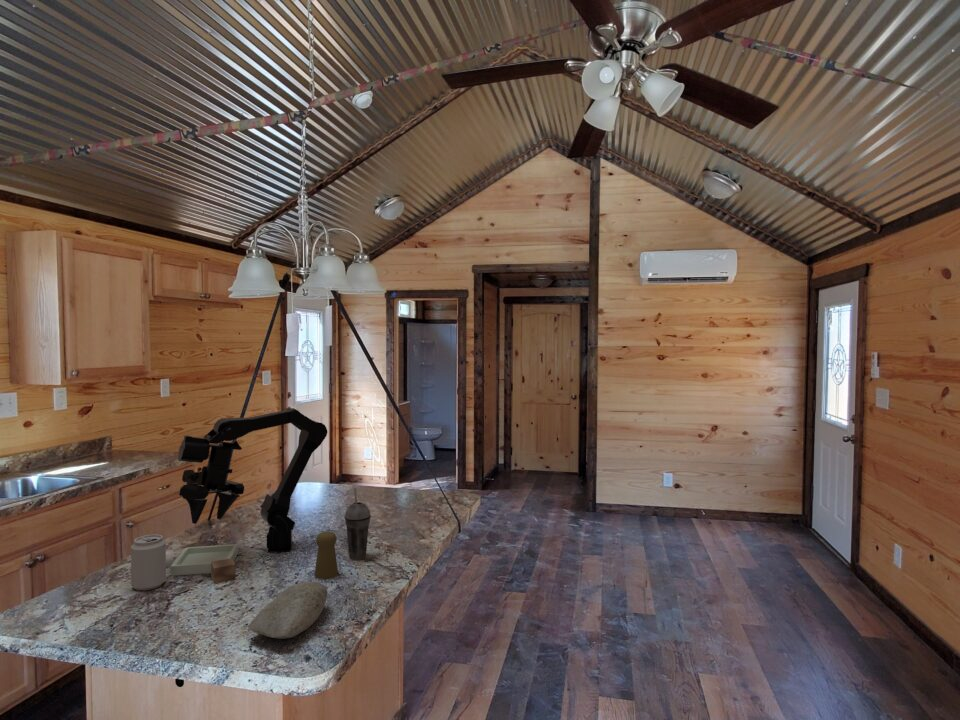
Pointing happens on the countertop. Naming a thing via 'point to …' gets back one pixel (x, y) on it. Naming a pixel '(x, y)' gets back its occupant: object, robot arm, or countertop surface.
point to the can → (148, 562)
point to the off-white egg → (169, 558)
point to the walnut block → (223, 570)
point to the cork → (326, 556)
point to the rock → (291, 611)
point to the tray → (201, 559)
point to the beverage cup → (357, 529)
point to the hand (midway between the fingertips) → (206, 521)
